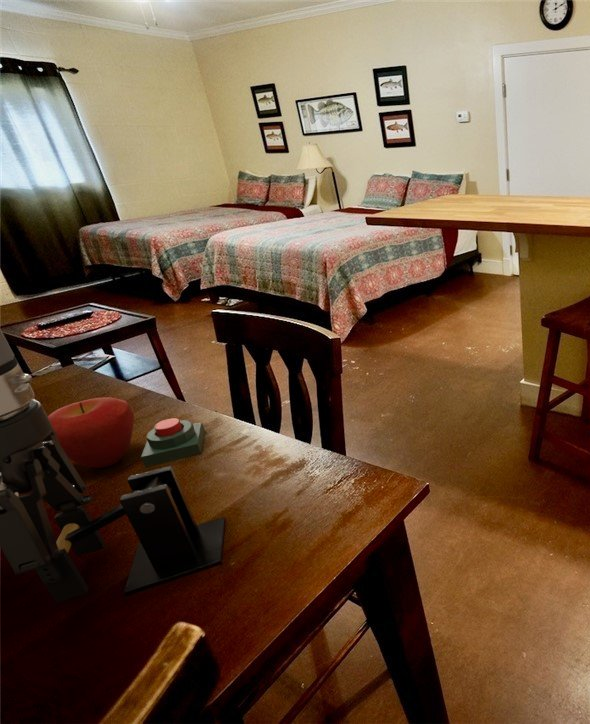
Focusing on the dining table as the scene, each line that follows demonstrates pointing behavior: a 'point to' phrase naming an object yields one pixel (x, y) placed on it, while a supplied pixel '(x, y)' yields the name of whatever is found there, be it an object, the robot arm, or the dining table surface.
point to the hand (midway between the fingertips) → (82, 571)
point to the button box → (174, 444)
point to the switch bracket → (168, 533)
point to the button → (168, 427)
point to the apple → (94, 430)
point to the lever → (98, 520)
